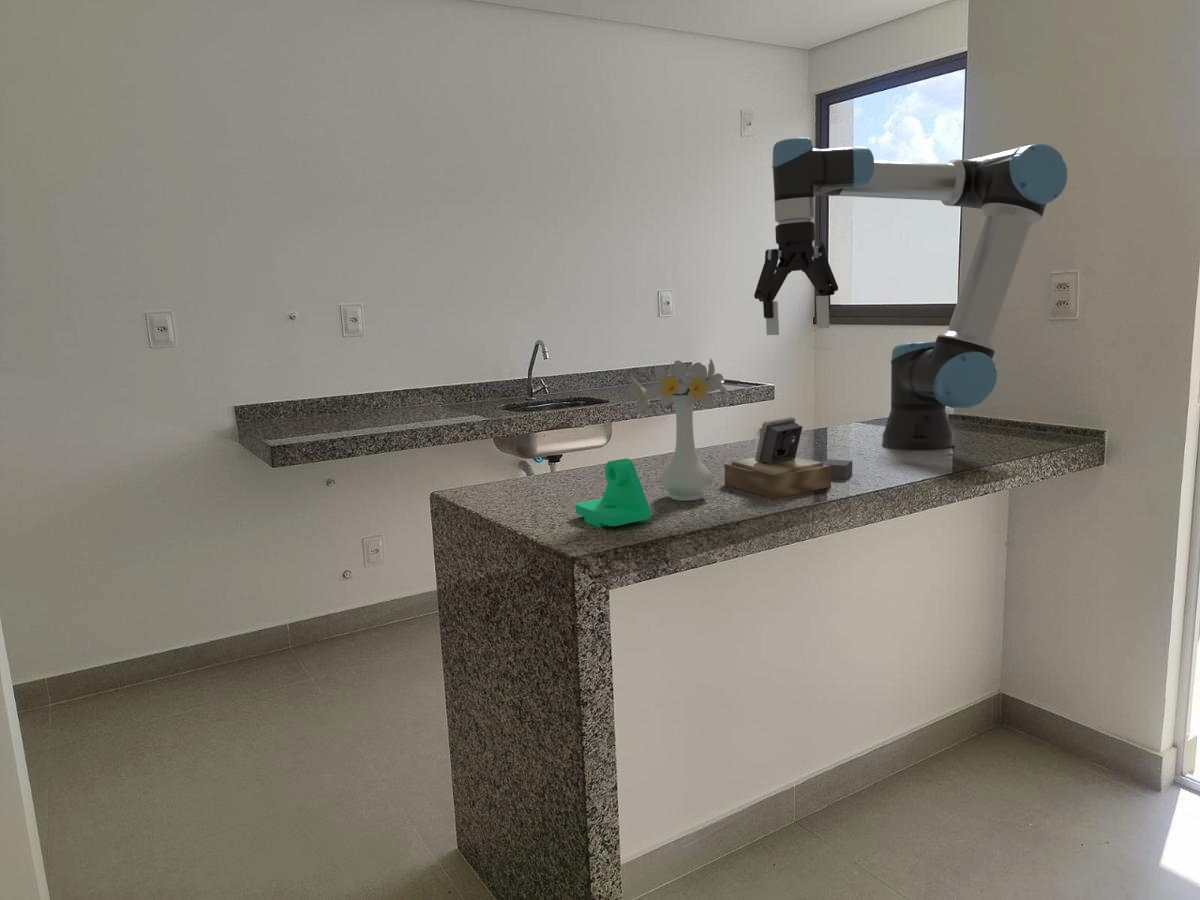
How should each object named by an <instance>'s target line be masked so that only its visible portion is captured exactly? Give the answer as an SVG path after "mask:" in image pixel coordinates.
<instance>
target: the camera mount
mask: <svg viewBox="0 0 1200 900" xmlns="http://www.w3.org/2000/svg"><path fill="white" fill-rule="evenodd" d="M604 474H605V480H606V481H607V485H606V487H605V490H604V493H603V496H602V497H599V498H596V499H589V500H584V501H580V502H576V503H575V506H574V507H575V514H577V515H579V516H581V517H584V518H583V519H584V523H586V522H587V524H589V525H591V524H592V526H594V525H595V526H594V527H597V526H598V527H597V528H599V527H601V528H603V527H602V526H605V527H618V526H622V525H627V524H631V523H636V522H640V521H646V520H650V519H651V517H652V516H651V507H650V505H649V502H648V500H647V497H646V494H645V491H644V489H643V485H642V483H641V481H640V478H639V475H638V472H637V469H636V467H635V464H634V462H633V461H632V460H631V459H630V458H626V457H625V458H621V459H615V460H608V462H607V463H606V464H605V468H604ZM607 525H608V526H607Z"/></svg>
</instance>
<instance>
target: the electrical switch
mask: <svg viewBox="0 0 1200 900" xmlns="http://www.w3.org/2000/svg"><path fill="white" fill-rule="evenodd" d="M802 431H803V426H802V425H799V424H798V423H797V422H796V419H795V417H792V416H788V417H784V418H780V419H772V420H768V421H764V422H763V423H762V425H761V429H760V434H759V439H758V444H757V448H756V454H755V457H754V458H755V461H756V462H758V463H762V462H765V463H768V464H769V465H773V464H777V463H782V462H786V461H790V460H795V457H797V451H798V447H799V443H800V438H801V435H802ZM776 459H779V460H776Z"/></svg>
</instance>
